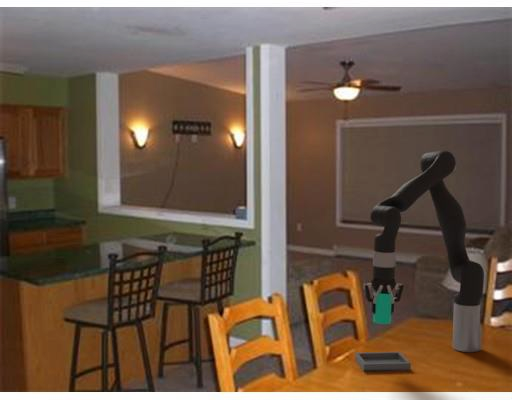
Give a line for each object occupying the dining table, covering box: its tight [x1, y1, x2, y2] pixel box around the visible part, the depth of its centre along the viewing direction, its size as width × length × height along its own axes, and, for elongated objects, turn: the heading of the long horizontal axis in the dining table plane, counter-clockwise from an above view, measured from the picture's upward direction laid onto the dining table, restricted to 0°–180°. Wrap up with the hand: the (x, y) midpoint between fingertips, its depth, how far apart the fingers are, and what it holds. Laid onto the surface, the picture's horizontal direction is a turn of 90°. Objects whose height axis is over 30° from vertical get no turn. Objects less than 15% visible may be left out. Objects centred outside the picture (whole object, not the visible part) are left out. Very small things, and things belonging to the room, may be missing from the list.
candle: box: [372, 291, 392, 325], centre depth 214 cm, size 6×6×12 cm
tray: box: [354, 351, 412, 373], centre depth 215 cm, size 16×12×2 cm
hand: (382, 313), depth 214 cm, fingers closed on candle, 4 cm apart
